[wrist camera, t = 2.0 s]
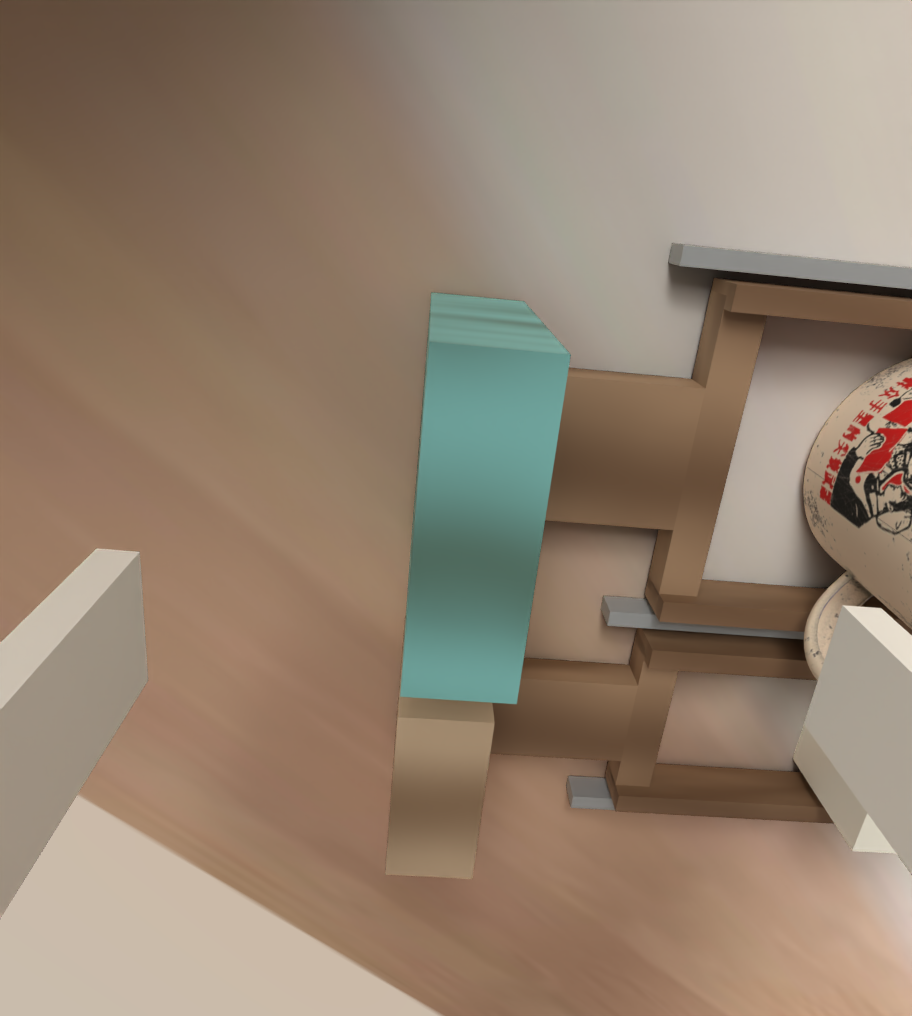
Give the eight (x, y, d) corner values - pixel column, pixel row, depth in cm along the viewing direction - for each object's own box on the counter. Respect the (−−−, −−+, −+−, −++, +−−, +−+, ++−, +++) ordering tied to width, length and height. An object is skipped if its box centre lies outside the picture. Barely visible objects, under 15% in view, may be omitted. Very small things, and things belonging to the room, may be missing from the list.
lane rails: (672, 243, 24) (683, 245, 23) (1249, 302, 25) (1286, 307, 24) (566, 786, 32) (570, 807, 31) (1000, 811, 33) (1020, 832, 32)
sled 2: (406, 604, 28) (398, 703, 23) (1055, 651, 30) (1196, 754, 24) (393, 763, 31) (384, 885, 26) (985, 797, 33) (1098, 920, 27)
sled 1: (434, 249, 23) (434, 277, 15) (1208, 327, 25) (1594, 390, 17) (408, 576, 28) (396, 737, 19) (1067, 625, 29) (1317, 793, 21)
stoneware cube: (824, 658, 30) (895, 741, 25) (943, 666, 30) (1034, 750, 26) (791, 757, 32) (852, 851, 27) (903, 763, 32) (982, 858, 28)
